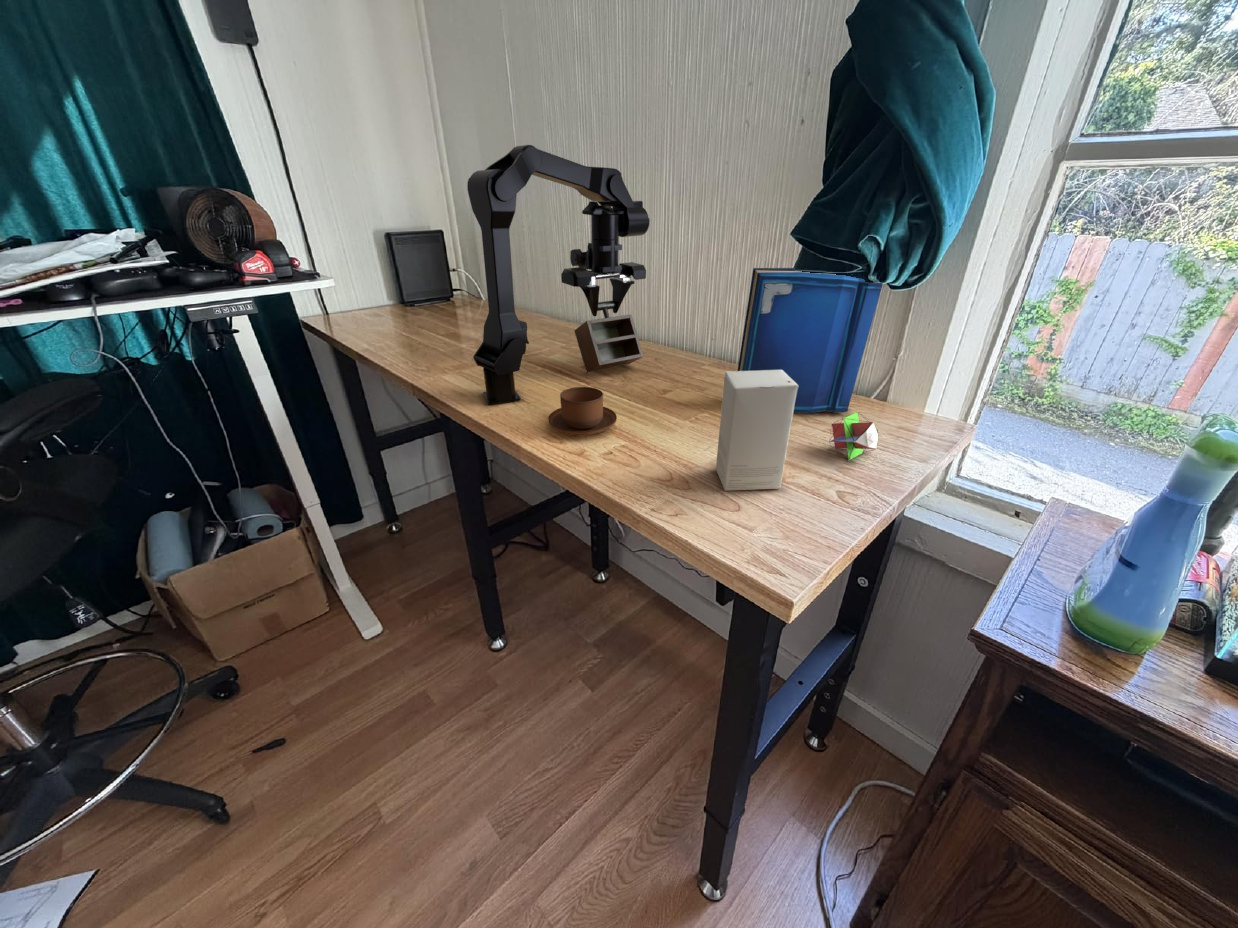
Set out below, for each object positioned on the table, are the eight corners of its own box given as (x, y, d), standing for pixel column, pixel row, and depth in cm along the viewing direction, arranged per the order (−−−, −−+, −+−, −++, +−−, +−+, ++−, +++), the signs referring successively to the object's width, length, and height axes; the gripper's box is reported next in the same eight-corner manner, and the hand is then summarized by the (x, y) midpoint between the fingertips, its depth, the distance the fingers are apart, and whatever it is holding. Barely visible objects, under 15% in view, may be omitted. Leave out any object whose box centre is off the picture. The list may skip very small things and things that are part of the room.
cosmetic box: (768, 468, 74) (785, 368, 67) (782, 491, 68) (802, 385, 61) (712, 469, 74) (723, 368, 67) (722, 492, 68) (735, 385, 61)
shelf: (569, 313, 112) (581, 303, 106) (613, 308, 118) (626, 297, 112) (586, 373, 113) (599, 365, 107) (629, 364, 119) (643, 356, 113)
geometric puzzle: (809, 435, 79) (846, 408, 73) (833, 425, 83) (870, 397, 77) (836, 473, 77) (876, 448, 71) (859, 460, 81) (899, 435, 75)
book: (843, 403, 98) (875, 268, 86) (854, 417, 91) (890, 274, 79) (732, 398, 100) (748, 266, 87) (736, 412, 93) (754, 272, 81)
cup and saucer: (535, 425, 88) (533, 392, 85) (589, 408, 95) (588, 378, 92) (575, 448, 80) (573, 413, 77) (630, 428, 87) (631, 395, 84)
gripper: (619, 232, 113) (618, 302, 121) (546, 237, 104) (550, 312, 112) (649, 238, 105) (646, 312, 113) (573, 243, 96) (576, 323, 104)
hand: (604, 314), depth 111 cm, fingers closed on shelf, 5 cm apart
